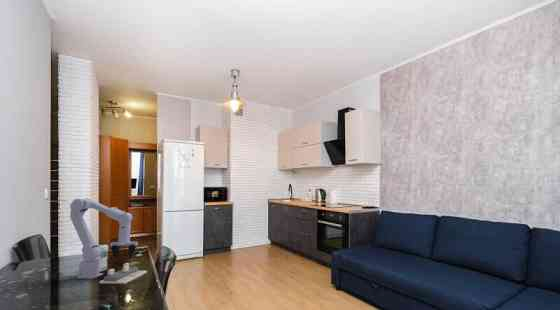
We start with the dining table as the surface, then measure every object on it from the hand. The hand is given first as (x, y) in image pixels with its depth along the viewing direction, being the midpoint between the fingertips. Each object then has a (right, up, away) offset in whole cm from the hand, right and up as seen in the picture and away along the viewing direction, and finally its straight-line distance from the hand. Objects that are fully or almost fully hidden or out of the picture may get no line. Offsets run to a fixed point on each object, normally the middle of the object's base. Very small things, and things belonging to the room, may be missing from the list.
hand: (123, 258), depth 158 cm
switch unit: (+4, -8, -7) cm, 11 cm away
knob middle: (+5, -4, -6) cm, 9 cm away
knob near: (0, -4, -12) cm, 12 cm away
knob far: (+2, -5, 0) cm, 5 cm away
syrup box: (-19, -10, +9) cm, 24 cm away
